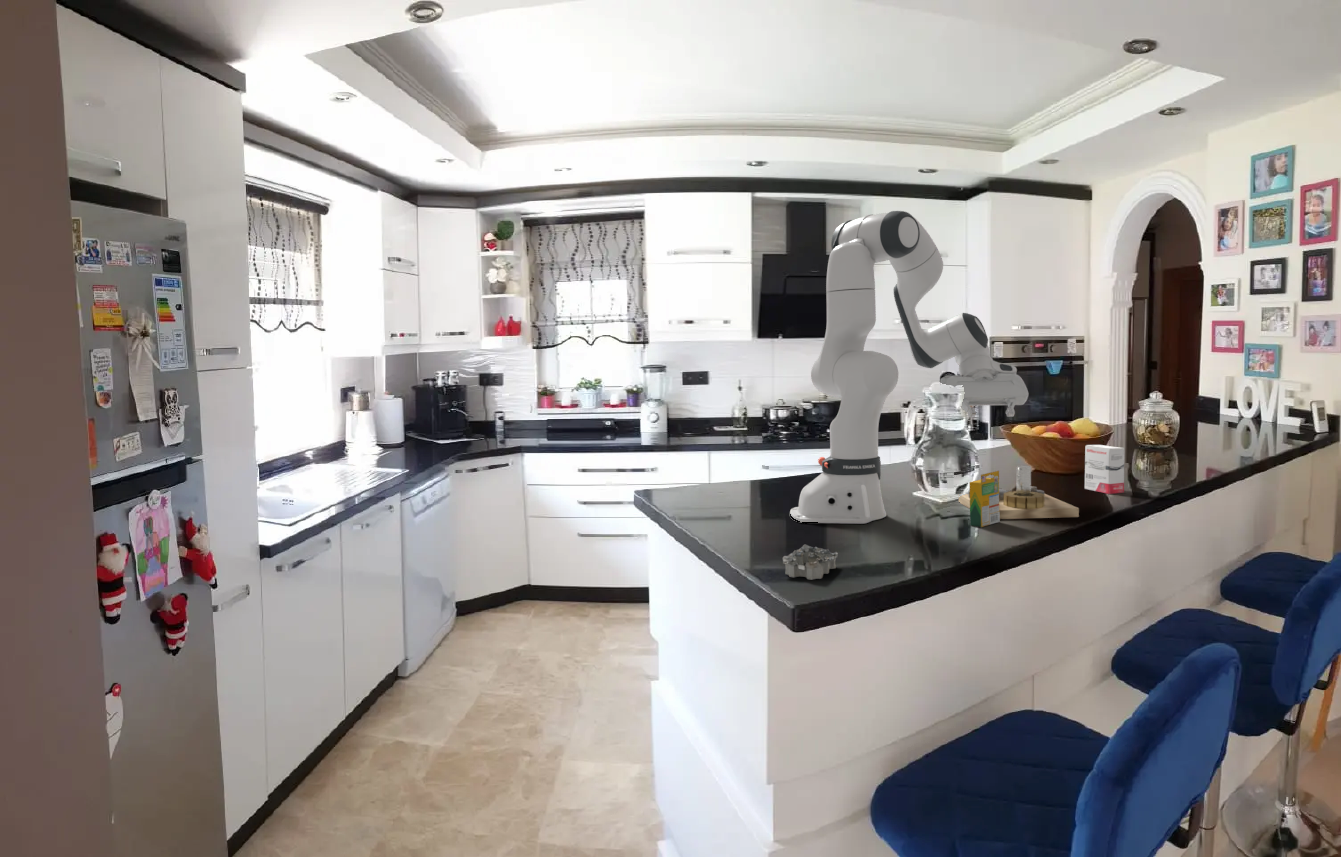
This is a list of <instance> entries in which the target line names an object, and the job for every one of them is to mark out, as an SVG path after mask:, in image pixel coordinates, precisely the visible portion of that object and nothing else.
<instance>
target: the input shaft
mask: <svg viewBox="0 0 1341 857" xmlns="http://www.w3.org/2000/svg"><path fill="white" fill-rule="evenodd" d="M1015 475H1016V476H1015V477H1016V479H1015V481H1016V485H1015V486H1016V490H1015V491H1016V495H1017V496H1031V486H1032V466H1031V465H1017V466H1016V474H1015Z"/></svg>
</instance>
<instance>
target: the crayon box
mask: <svg viewBox="0 0 1341 857" xmlns="http://www.w3.org/2000/svg"><path fill="white" fill-rule="evenodd" d="M989 476H992V477H989ZM968 484H969V492H970V509H969V520H970V521H969V525H970V527H977V528H984V527H987V526H990V525H993V524H997V523H1000V522H1001V521H1000V520H1001V519H1000V512H999V488H1000V470H995V471H991V472H987V473H982V474H980V479H978V480H973V481H970V482H969V483H968Z"/></svg>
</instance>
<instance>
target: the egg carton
mask: <svg viewBox="0 0 1341 857" xmlns="http://www.w3.org/2000/svg"><path fill="white" fill-rule="evenodd" d="M838 554H839V552H837V551H835V552H831V551H830V550H829V548H827V549H824V548H821V547H817V546H815V547H813V546H810V545H808V544H803V545H802V546H801V547H800V548H799V549H796V550H795V549H794V551H793V552H791V553H789V554H788V555H784V556H783V557H782V564H784V565H785V566H784V567H785V568H784V569H785V571H784V572H785V575H787V576H789V577H790V578H797V577H804V578H806V580H813V581H814V580H816V579H817V580H818V579H819V580H820V579H823V577H824V574H826V575H828V574H829V573H830V570H833V569H834V570H835V569H836V568H837V565H836V561H837V559H838V558H839V556H838Z"/></svg>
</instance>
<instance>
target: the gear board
mask: <svg viewBox="0 0 1341 857" xmlns="http://www.w3.org/2000/svg"><path fill="white" fill-rule="evenodd" d="M964 494H965V495H962V496H960V497H959V496H958V503H959V502H960V503H959V504H961V505H963V506H964V507H966V508H968V510H970V491H968V493H964ZM999 512H1000V520H1014V519H1015V520H1016V519H1023V520H1024V519H1048V518H1049V519H1052V518H1053V519H1055V518H1056V519H1057V518H1059V519H1060V518H1079V517H1080V515H1079V513H1080V508H1079V507H1077V506H1074V505H1072V504H1070V503H1068V502H1065V501H1063V500H1060V499H1058V498H1055V496H1054V497H1053V496H1051V495H1049V494H1046V493H1045V490H1042V489H1038V487H1037V486H1034V485H1033V486H1032V485H1031V496H1017V495H1016V490H1010V489H1009V490H1007V489H1003V488H1000V487H999Z"/></svg>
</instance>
